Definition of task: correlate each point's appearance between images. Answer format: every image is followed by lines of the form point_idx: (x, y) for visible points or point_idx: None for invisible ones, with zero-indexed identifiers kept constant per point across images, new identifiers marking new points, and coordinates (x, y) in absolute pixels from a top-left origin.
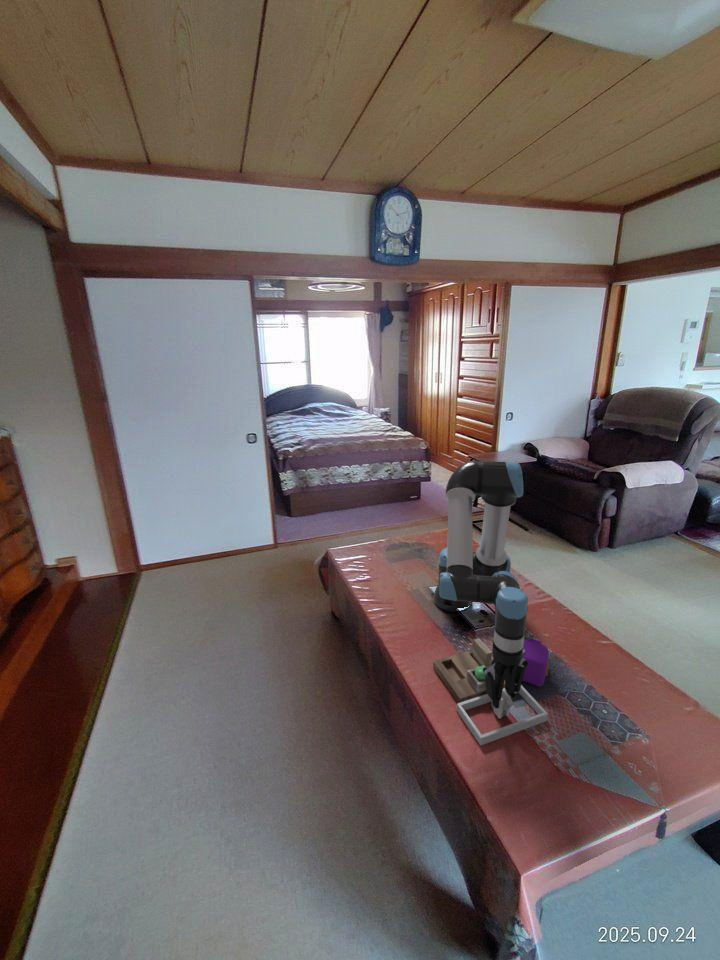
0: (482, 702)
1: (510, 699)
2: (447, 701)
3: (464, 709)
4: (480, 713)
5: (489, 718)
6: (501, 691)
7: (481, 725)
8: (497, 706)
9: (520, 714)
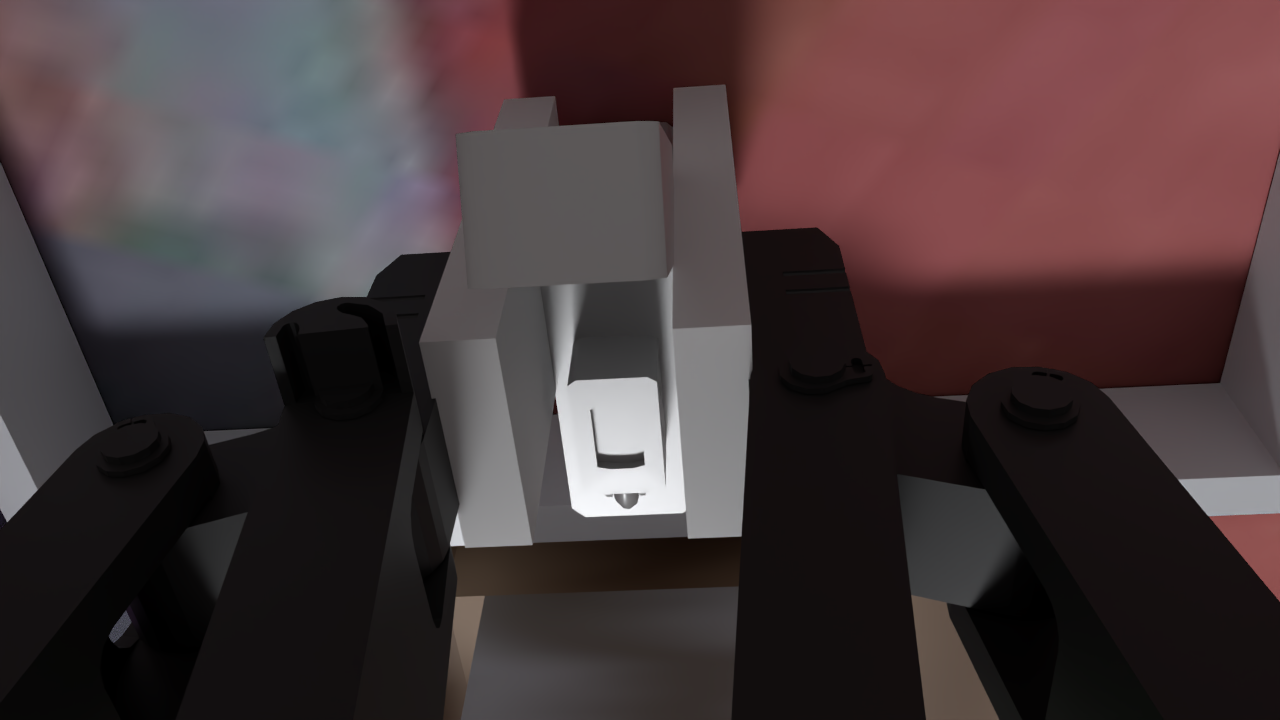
0: None
1: (510, 267)
2: (1251, 565)
3: (1152, 400)
4: (935, 280)
5: (855, 159)
6: (782, 557)
7: (1089, 74)
8: (782, 253)
9: (265, 79)
